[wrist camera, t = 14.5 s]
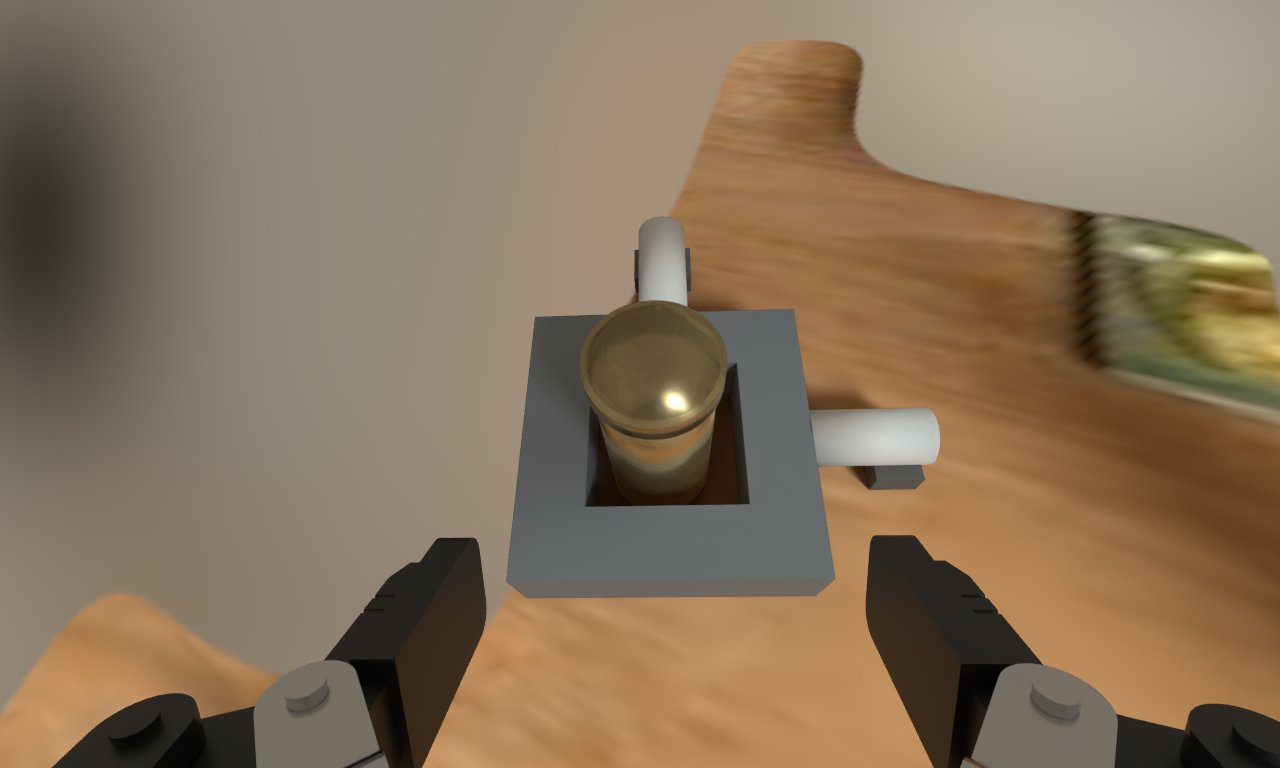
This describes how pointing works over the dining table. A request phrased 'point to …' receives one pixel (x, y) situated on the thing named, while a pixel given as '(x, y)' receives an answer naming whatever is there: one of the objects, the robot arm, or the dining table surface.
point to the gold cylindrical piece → (655, 397)
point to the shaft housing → (764, 449)
